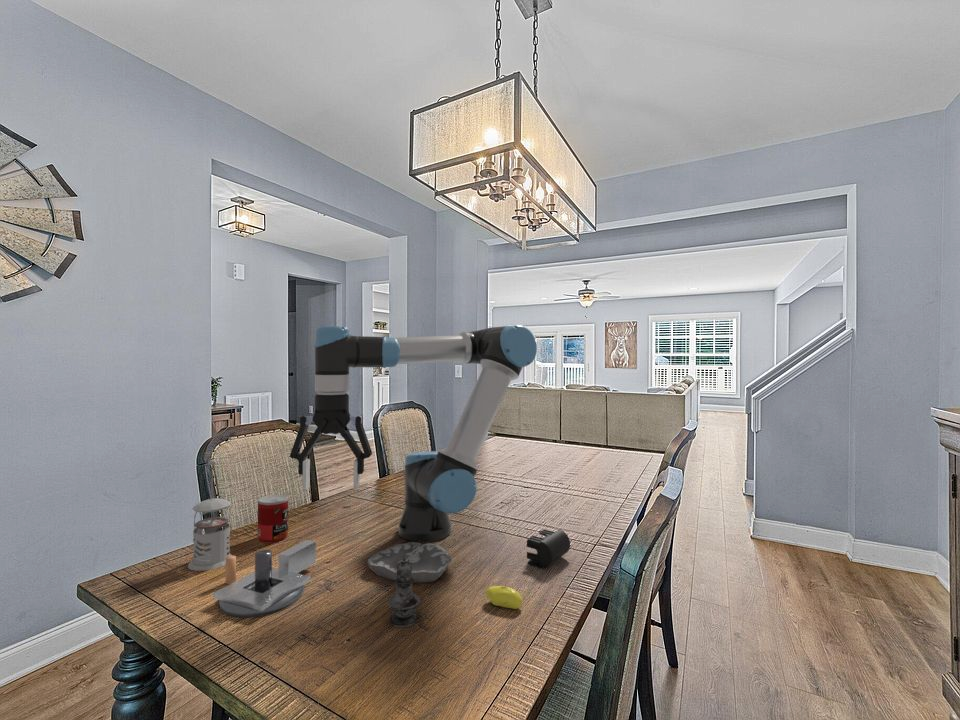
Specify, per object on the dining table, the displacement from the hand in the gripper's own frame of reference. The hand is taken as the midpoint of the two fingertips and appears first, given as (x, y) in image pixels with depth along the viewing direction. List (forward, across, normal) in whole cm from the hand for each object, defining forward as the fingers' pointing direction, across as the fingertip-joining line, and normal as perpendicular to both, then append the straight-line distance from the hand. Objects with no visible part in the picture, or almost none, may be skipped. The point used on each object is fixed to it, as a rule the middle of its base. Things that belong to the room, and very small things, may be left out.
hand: (331, 488), depth 105 cm
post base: (+20, +12, +9) cm, 25 cm away
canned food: (+20, +22, -23) cm, 37 cm away
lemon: (+20, -38, +15) cm, 46 cm away
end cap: (+20, -52, -4) cm, 56 cm away
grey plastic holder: (+19, +10, +6) cm, 22 cm away
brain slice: (+21, -18, -3) cm, 28 cm away
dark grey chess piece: (+20, -19, +19) cm, 34 cm away
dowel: (+20, +21, +3) cm, 29 cm away
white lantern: (+20, +32, -9) cm, 39 cm away
